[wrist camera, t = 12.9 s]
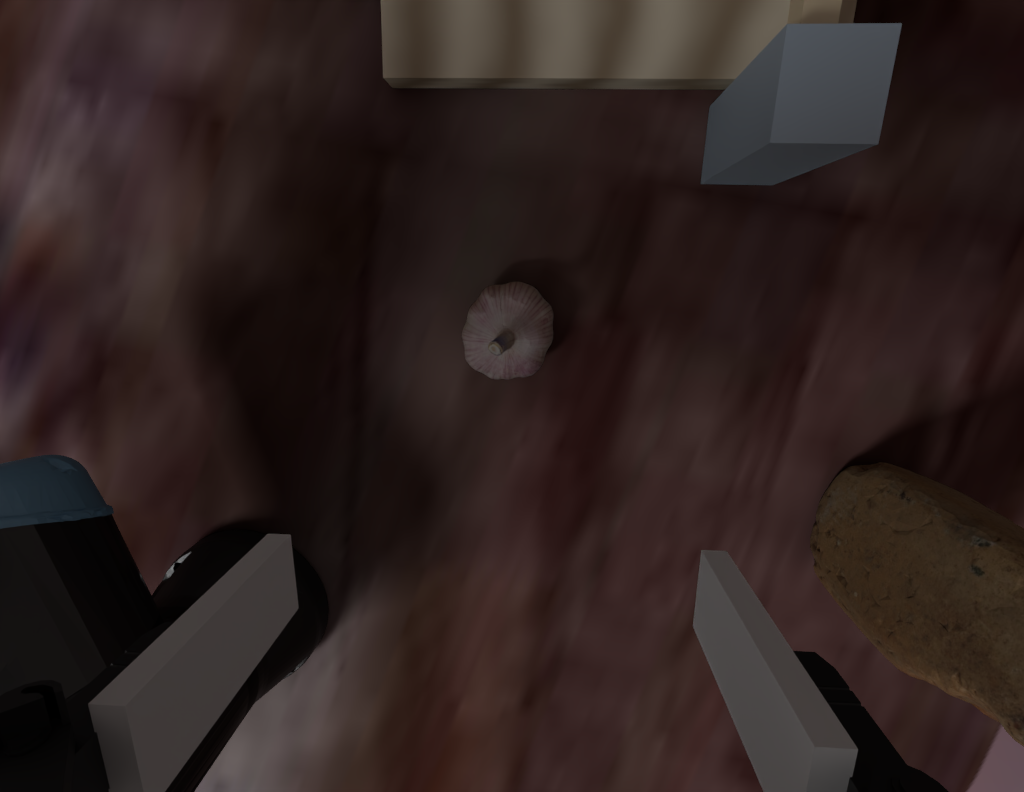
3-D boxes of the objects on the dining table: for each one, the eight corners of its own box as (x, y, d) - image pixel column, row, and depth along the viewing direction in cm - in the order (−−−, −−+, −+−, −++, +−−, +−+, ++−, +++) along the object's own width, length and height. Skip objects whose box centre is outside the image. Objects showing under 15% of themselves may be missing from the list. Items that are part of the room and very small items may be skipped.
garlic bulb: (489, 389, 41) (473, 417, 33) (446, 309, 40) (419, 319, 32) (572, 348, 39) (576, 367, 32) (531, 264, 38) (524, 262, 30)
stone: (852, 440, 39) (1140, 605, 20) (938, 477, 39) (1307, 677, 20) (780, 550, 42) (971, 789, 23) (861, 585, 42) (1118, 851, 23)
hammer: (700, 183, 36) (769, 143, 24) (725, -30, 32) (819, -197, 21) (772, 185, 35) (878, 144, 24) (805, -32, 32) (946, -202, 20)
